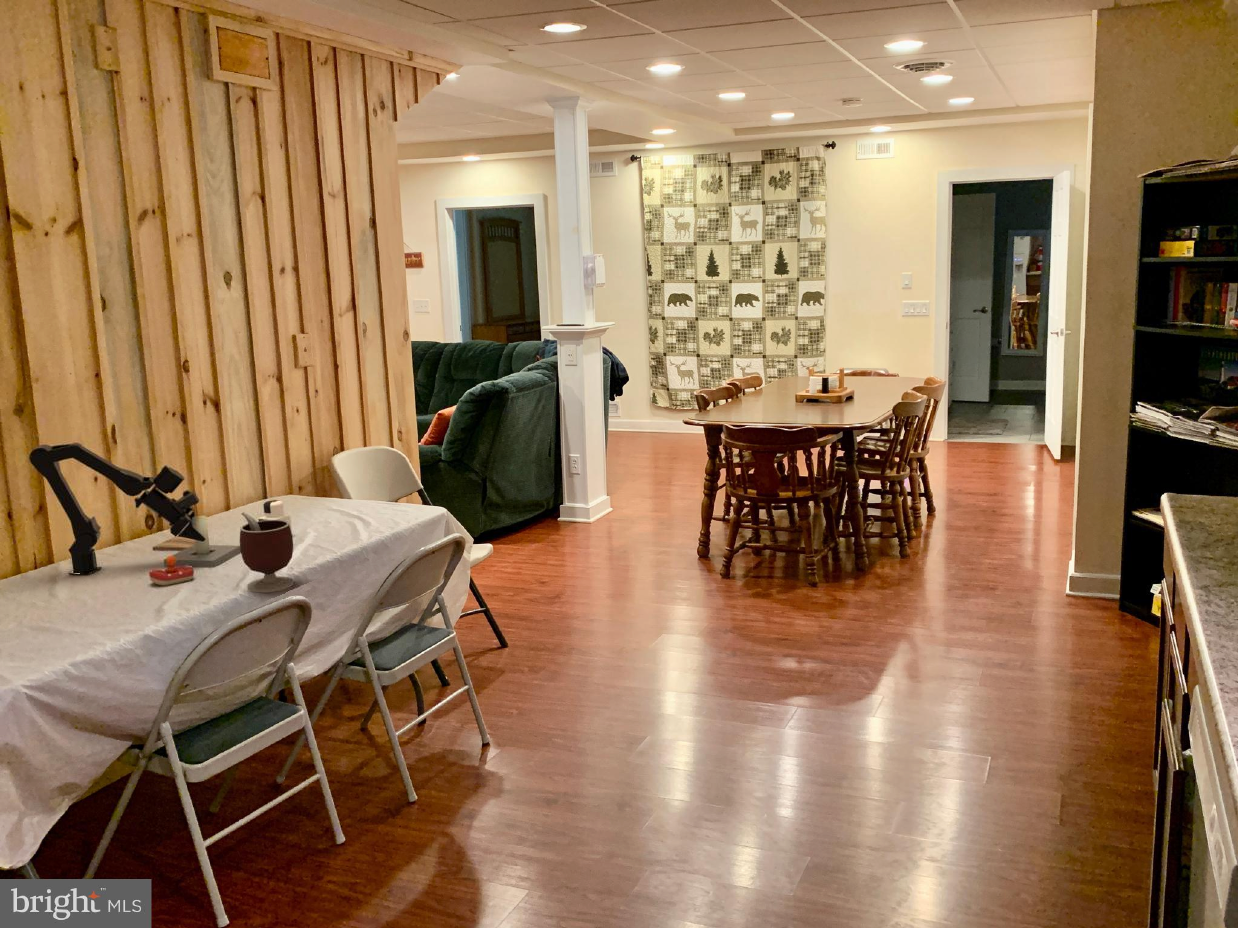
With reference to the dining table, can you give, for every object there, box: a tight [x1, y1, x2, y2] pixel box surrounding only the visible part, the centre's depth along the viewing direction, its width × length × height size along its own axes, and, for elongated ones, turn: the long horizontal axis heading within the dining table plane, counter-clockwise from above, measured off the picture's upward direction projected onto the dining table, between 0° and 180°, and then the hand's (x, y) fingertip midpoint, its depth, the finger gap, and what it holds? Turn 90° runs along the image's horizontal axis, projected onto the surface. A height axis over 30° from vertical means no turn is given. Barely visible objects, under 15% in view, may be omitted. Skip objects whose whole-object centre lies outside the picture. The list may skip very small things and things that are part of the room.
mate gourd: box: [239, 512, 295, 593], centre depth 295 cm, size 16×14×20 cm
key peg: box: [192, 515, 210, 555], centre depth 324 cm, size 4×4×13 cm
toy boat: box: [148, 555, 195, 587], centre depth 303 cm, size 8×12×8 cm, turn 129°
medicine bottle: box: [258, 499, 293, 534], centre depth 346 cm, size 7×7×12 cm
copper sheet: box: [152, 536, 195, 552], centre depth 341 cm, size 12×12×1 cm
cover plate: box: [163, 544, 241, 568], centre depth 325 cm, size 16×16×2 cm
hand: (205, 536), depth 324 cm, fingers open, 9 cm apart
